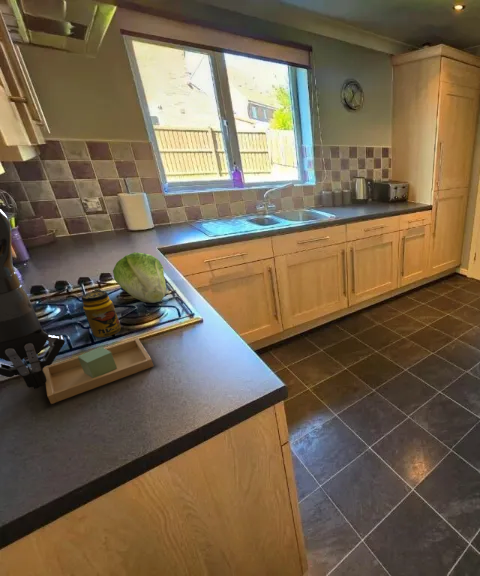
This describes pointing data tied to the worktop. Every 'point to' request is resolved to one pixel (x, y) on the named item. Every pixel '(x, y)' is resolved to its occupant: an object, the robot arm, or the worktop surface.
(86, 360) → the block
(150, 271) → the lettuce
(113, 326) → the condiment
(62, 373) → the tray
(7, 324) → the robot arm
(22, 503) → the worktop surface
